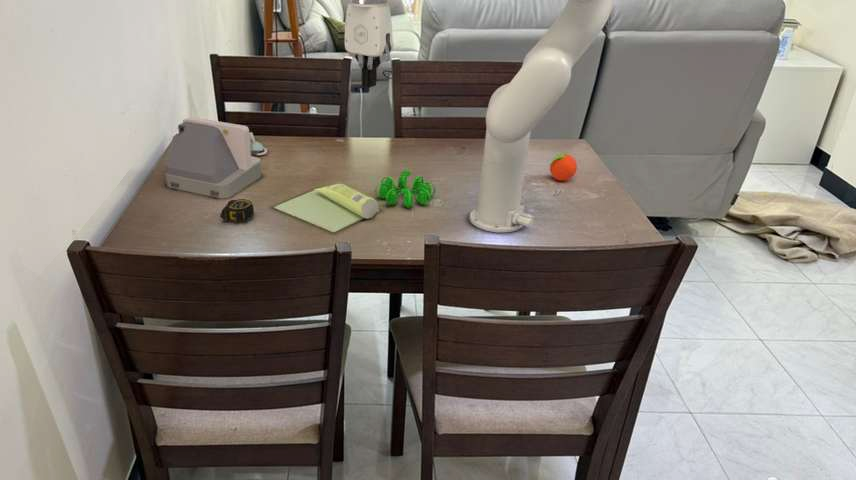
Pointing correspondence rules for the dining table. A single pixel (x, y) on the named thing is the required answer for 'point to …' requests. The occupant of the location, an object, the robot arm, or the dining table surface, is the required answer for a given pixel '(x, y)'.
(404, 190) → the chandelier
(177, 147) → the instant camera
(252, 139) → the pacifier
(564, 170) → the clementine
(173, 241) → the dining table surface
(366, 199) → the tube
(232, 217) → the tape measure
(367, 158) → the dining table surface
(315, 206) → the mat
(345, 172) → the dining table surface
